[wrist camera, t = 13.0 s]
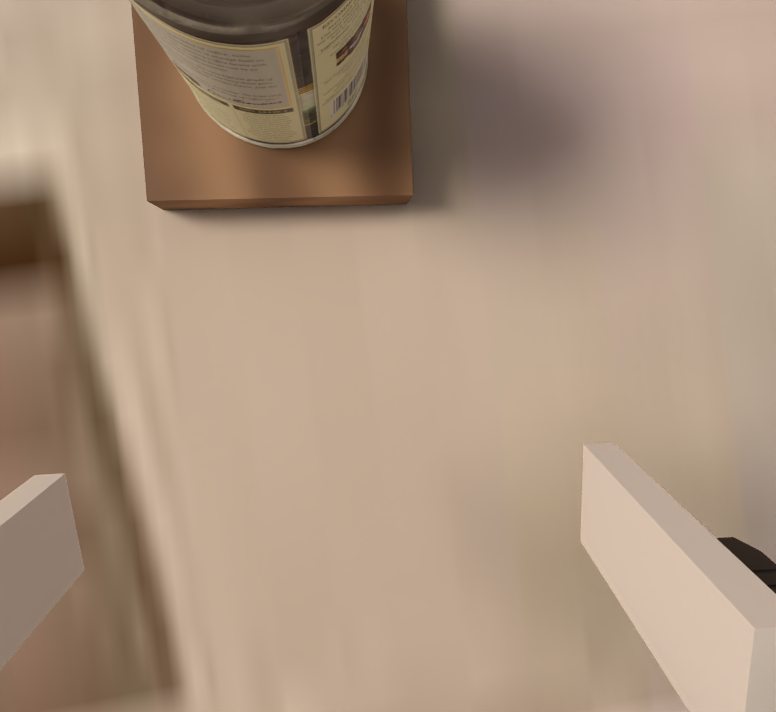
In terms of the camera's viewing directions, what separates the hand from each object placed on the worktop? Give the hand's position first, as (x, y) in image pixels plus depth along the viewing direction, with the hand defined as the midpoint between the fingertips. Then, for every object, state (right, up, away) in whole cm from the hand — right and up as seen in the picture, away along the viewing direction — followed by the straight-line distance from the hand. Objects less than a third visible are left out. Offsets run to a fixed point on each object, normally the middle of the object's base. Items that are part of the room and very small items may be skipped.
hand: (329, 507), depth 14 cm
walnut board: (-5, +21, +20) cm, 29 cm away
